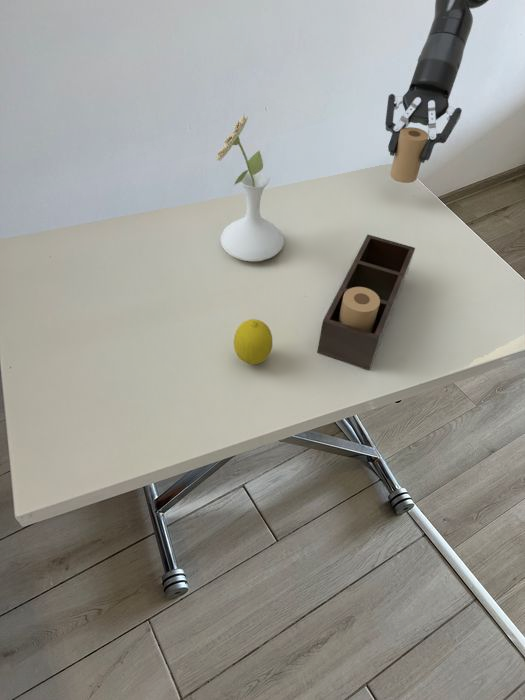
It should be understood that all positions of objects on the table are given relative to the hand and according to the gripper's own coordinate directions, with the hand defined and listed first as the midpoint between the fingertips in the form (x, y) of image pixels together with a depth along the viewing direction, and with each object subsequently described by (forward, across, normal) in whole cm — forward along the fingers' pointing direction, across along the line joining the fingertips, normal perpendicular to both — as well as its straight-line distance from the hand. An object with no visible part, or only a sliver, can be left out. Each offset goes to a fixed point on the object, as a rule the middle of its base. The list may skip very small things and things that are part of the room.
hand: (406, 157), depth 99 cm
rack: (+31, -3, +15) cm, 34 cm away
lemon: (+43, +9, +27) cm, 52 cm away
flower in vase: (+26, +20, +10) cm, 35 cm away
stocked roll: (+36, -3, +20) cm, 41 cm away
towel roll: (+2, 0, -5) cm, 5 cm away
